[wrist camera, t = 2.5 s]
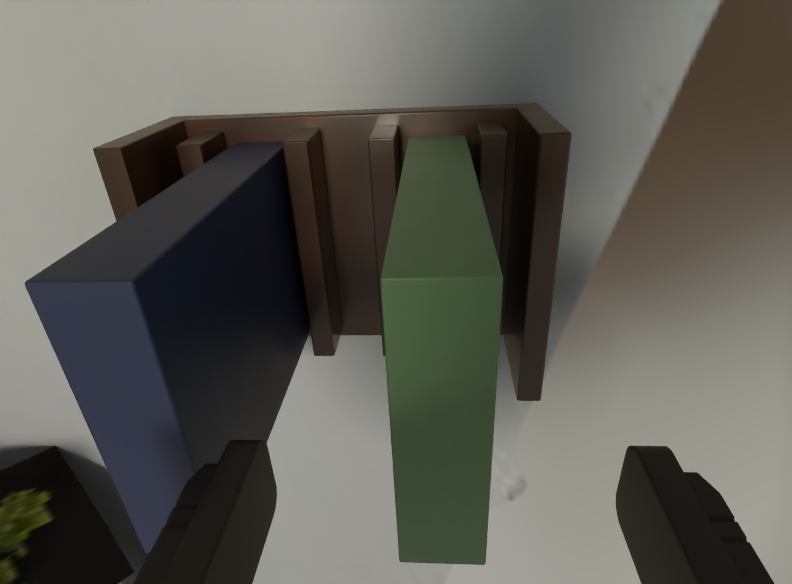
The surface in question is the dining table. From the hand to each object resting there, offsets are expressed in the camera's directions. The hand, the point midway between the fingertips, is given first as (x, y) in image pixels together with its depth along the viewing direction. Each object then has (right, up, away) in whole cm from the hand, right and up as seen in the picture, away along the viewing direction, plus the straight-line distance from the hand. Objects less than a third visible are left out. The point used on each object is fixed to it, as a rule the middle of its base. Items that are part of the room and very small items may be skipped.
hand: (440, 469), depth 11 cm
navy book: (-7, +6, +13) cm, 16 cm away
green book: (+1, +7, +12) cm, 14 cm away
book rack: (-3, +7, +13) cm, 15 cm away
